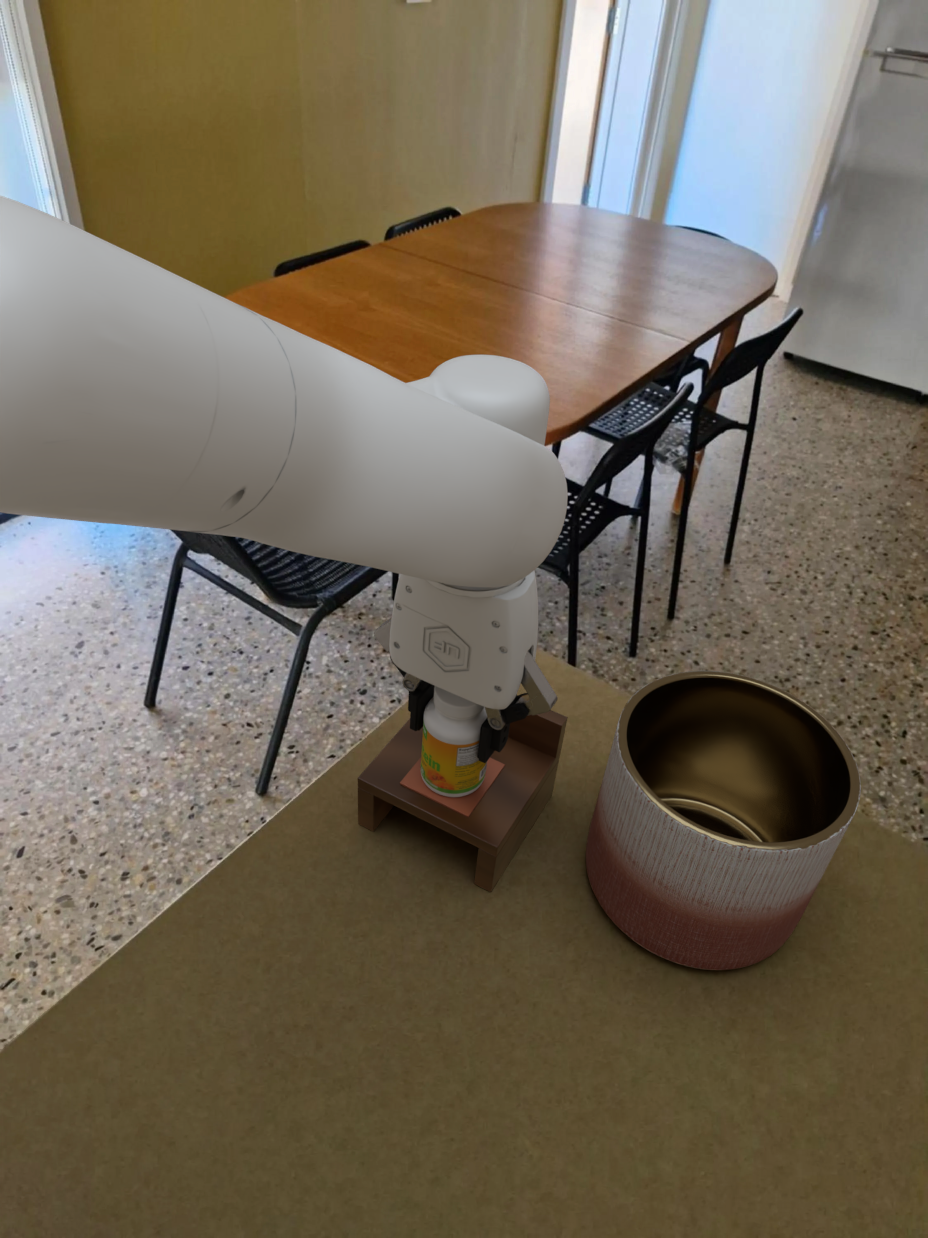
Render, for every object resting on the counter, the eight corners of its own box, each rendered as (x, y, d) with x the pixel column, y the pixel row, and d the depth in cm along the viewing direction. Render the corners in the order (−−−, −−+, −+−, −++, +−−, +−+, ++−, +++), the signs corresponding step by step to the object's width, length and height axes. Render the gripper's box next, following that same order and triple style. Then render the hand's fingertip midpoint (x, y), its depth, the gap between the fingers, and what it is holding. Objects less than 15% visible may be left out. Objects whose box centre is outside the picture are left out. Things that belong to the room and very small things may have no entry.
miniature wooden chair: (490, 893, 72) (502, 814, 66) (357, 824, 76) (356, 744, 70) (552, 794, 80) (567, 717, 74) (429, 737, 85) (434, 659, 78)
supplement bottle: (409, 761, 74) (413, 675, 68) (466, 742, 76) (474, 657, 70) (437, 808, 70) (444, 722, 64) (496, 786, 73) (508, 701, 67)
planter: (540, 879, 73) (566, 749, 63) (655, 764, 84) (693, 638, 74) (730, 1026, 65) (795, 902, 55) (832, 877, 75) (902, 751, 65)
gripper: (334, 531, 59) (339, 721, 71) (568, 621, 54) (532, 813, 65) (395, 484, 65) (390, 668, 76) (613, 562, 59) (573, 749, 70)
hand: (456, 733), depth 70 cm, fingers closed on supplement bottle, 5 cm apart
